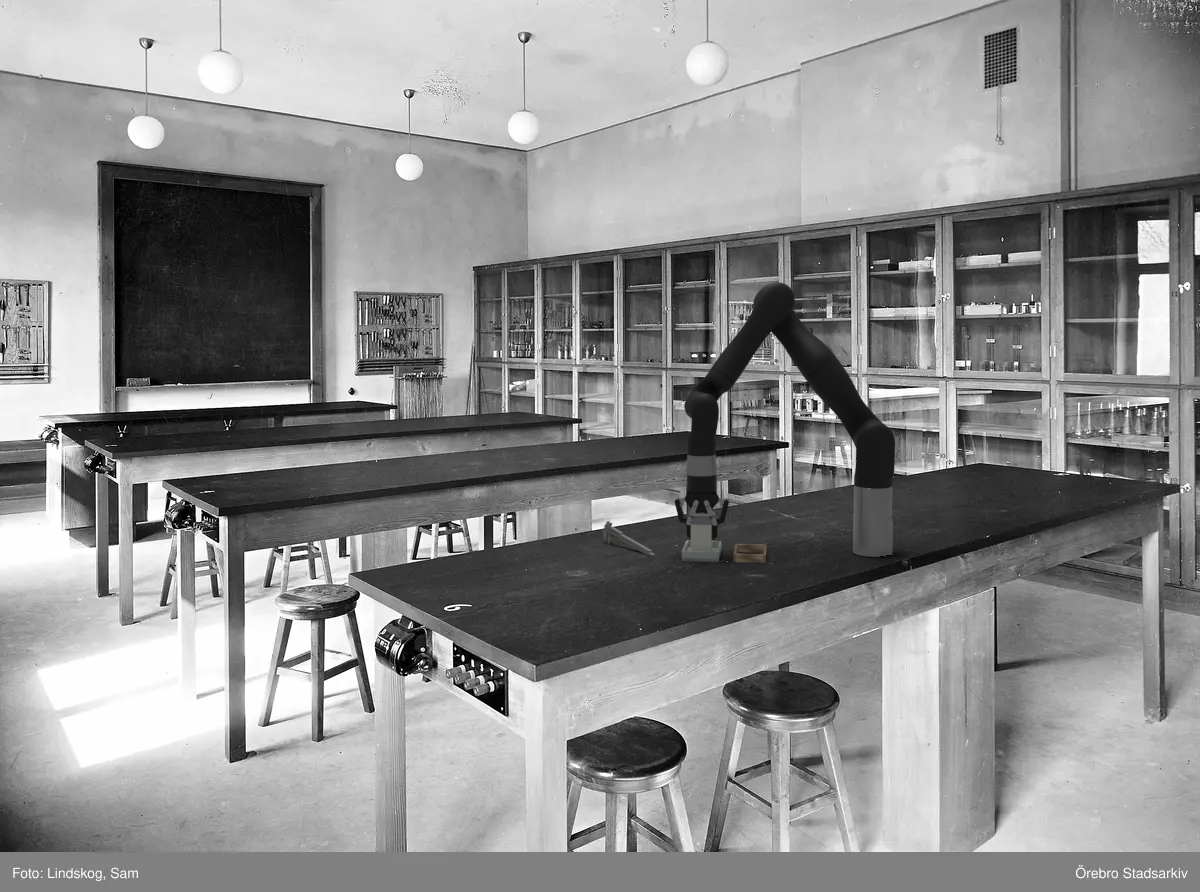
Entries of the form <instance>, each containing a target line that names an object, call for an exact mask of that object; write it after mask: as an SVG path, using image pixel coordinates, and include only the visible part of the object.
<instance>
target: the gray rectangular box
mask: <svg viewBox="0 0 1200 892" xmlns="http://www.w3.org/2000/svg"><path fill="white" fill-rule="evenodd" d="M690 525H691V551H705V552H711V551H712V548H713V541H714V540H712V519H710V517H709V515H708V513H695V514H694V517H693V518H691V520H690Z"/></svg>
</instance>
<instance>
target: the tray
mask: <svg viewBox="0 0 1200 892" xmlns="http://www.w3.org/2000/svg"><path fill="white" fill-rule="evenodd" d="M721 553H722V540H713V548H712V551H711V552H705V551H691V540H690V539H688V540H685V543H684V545H683V547H682V550H681V562H691V563H694V562H695V563H696V562H698V563H704V562H705V563H719V562H720V557H721Z"/></svg>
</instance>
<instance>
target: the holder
mask: <svg viewBox="0 0 1200 892" xmlns="http://www.w3.org/2000/svg"><path fill="white" fill-rule="evenodd" d="M733 549H734V550H733V555H732V556H733V557H732V559H733V563H750V564H752V563H753V564H766V563H767V544H757V543H756V544H755V543H754V544H752V543H751V544H749V543H748V544H746V543H745V544H744V543H735V544H734V548H733Z"/></svg>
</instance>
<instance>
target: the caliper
mask: <svg viewBox="0 0 1200 892" xmlns="http://www.w3.org/2000/svg"><path fill="white" fill-rule="evenodd" d="M612 525H613V522H611V521H610V520H607V521H606V522H605V524H604V527H603V542H604V543H607V544H608V545H609V544H610V545H611V544H613V541H614V540H615V541H617V542H618V543H621V542H623V543H625V544H626V545H629V546H631V548H633V549H635V550H636V551H638V552H640V553H642V554H643V555H647V556H650V557H653V556H654V557H655V556H656V554H655V553H654V552H653V550H652V549H650V548H648V547H647V546H645V545H643V544H641V543H639V542H638V541H637V540H634V539H633V538H631V537H629V536H627V535H625V534H624V532H623V531H621V530H619V529H618V528H616V527H614V526H612Z"/></svg>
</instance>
